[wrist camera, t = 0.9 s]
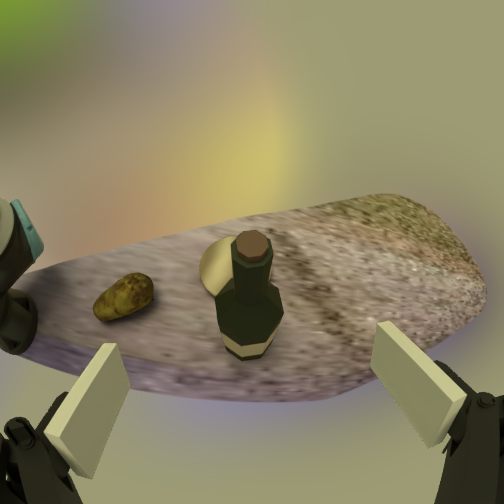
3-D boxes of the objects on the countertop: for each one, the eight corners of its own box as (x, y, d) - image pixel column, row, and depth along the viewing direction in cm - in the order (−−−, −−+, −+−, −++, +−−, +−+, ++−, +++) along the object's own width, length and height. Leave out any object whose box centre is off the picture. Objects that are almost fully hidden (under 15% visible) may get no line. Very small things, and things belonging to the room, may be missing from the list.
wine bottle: (214, 330, 47) (178, 228, 21) (255, 307, 50) (267, 187, 24) (239, 370, 44) (231, 317, 18) (280, 345, 46) (329, 259, 20)
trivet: (194, 300, 50) (192, 293, 47) (209, 241, 57) (208, 232, 54) (265, 310, 49) (267, 305, 47) (273, 249, 56) (274, 241, 53)
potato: (103, 285, 50) (86, 267, 44) (162, 284, 51) (150, 264, 44) (98, 324, 46) (78, 310, 39) (159, 326, 47) (145, 311, 40)
